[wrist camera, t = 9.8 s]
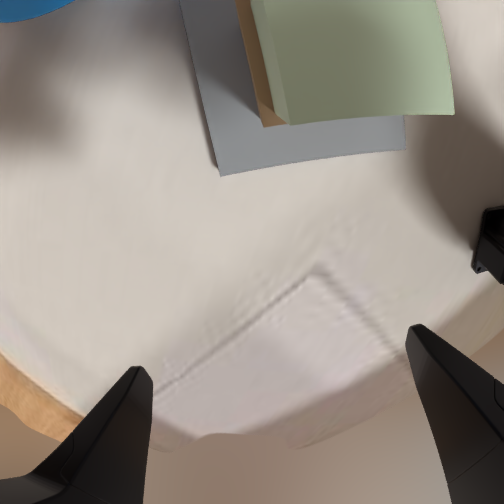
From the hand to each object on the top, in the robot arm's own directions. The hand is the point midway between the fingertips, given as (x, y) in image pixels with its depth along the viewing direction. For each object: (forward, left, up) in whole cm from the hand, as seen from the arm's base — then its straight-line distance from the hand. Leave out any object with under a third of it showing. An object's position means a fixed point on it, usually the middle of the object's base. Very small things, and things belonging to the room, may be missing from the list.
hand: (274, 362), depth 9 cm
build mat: (-4, -9, -12) cm, 16 cm away
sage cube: (-4, -9, -6) cm, 12 cm away
